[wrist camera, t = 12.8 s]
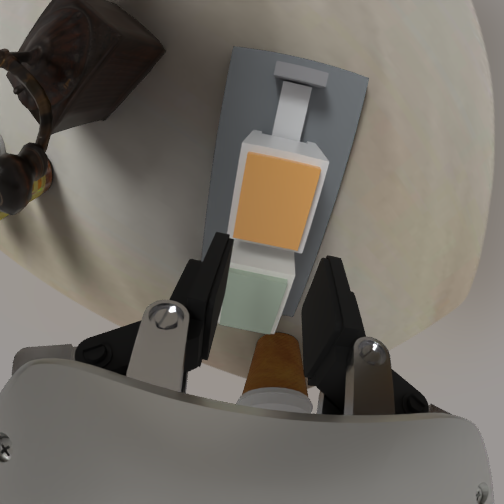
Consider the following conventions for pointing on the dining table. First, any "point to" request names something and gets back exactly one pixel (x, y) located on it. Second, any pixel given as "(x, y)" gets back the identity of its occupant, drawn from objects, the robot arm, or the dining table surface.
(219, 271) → the robot arm
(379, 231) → the dining table surface
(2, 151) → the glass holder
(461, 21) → the dining table surface
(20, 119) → the dining table surface
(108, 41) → the pepper mill
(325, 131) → the rail board
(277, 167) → the module
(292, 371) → the disposable coffee cup
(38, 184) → the sauce bottle
